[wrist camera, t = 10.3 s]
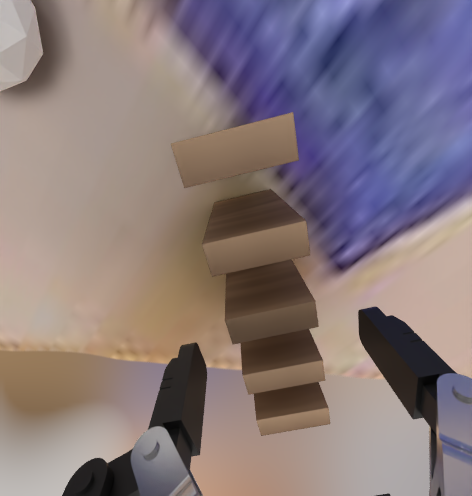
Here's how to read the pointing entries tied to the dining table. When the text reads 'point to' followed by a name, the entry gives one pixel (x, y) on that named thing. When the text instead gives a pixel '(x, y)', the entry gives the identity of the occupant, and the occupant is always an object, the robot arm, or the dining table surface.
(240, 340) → the domino
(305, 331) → the domino
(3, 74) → the perfume bottle
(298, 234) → the domino
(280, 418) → the domino
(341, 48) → the dining table surface
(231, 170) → the domino
